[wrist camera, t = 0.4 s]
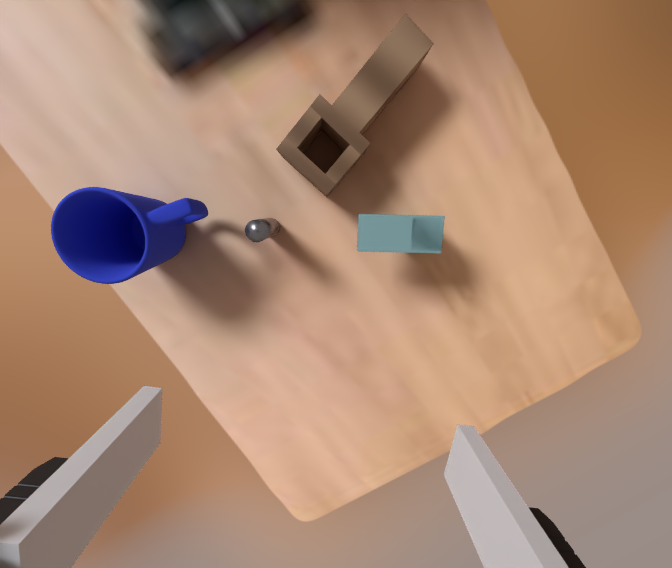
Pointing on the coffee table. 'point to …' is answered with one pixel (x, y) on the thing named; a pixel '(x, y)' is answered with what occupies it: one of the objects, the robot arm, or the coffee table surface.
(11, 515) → the robot arm
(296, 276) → the coffee table surface
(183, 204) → the mug
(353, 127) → the link
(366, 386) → the coffee table surface
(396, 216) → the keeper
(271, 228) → the rod
